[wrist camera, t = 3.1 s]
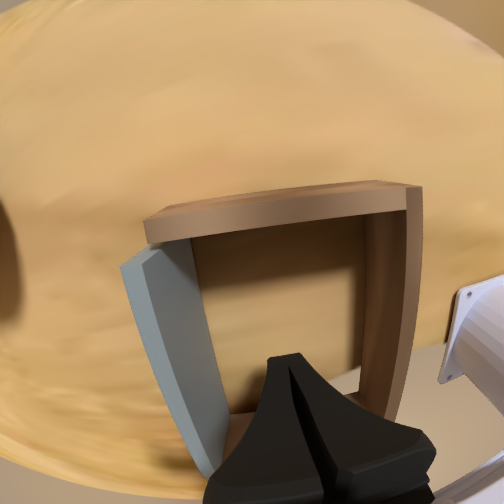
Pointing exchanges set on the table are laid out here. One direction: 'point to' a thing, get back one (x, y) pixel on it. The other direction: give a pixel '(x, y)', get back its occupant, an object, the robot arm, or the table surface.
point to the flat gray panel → (180, 346)
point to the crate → (377, 267)
